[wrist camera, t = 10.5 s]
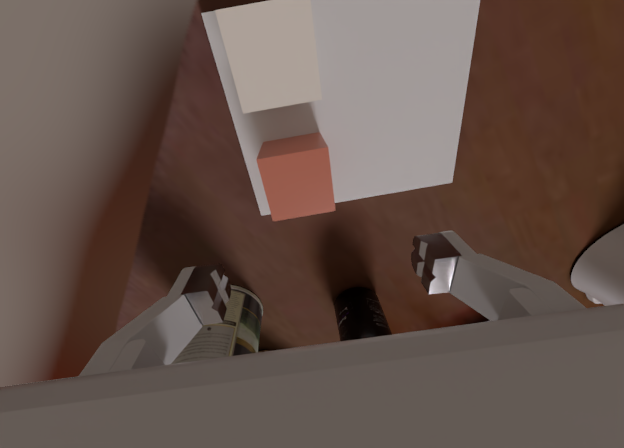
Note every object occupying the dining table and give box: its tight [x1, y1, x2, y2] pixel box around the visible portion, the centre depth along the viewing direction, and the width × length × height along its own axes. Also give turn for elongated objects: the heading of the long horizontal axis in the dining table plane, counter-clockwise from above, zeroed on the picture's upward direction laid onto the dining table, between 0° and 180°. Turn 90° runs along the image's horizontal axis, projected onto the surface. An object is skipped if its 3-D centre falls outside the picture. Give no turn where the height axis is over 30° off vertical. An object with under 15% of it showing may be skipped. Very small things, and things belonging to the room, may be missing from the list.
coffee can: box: [171, 285, 263, 364], centre depth 31 cm, size 10×10×14 cm
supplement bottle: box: [334, 287, 392, 341], centre depth 33 cm, size 7×7×12 cm
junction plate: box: [201, 0, 480, 216], centre depth 24 cm, size 22×18×1 cm
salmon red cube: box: [256, 132, 336, 221], centre depth 23 cm, size 6×6×6 cm
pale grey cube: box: [215, 0, 322, 114], centre depth 18 cm, size 6×6×6 cm
